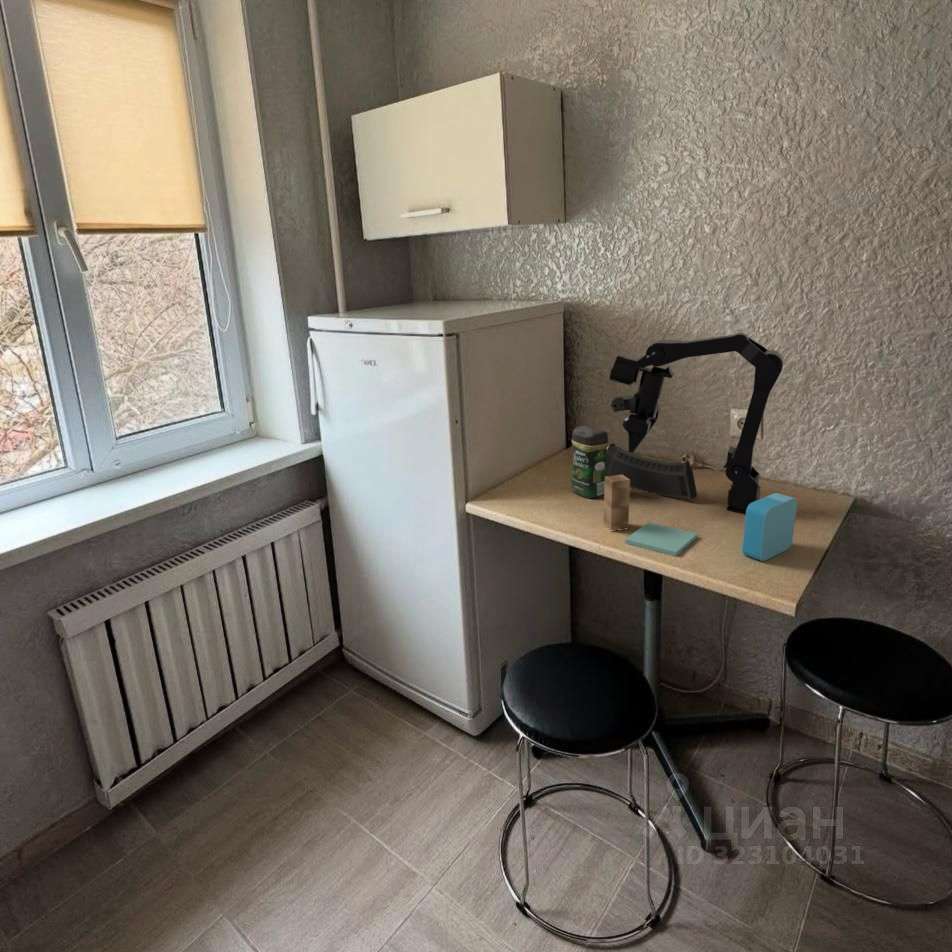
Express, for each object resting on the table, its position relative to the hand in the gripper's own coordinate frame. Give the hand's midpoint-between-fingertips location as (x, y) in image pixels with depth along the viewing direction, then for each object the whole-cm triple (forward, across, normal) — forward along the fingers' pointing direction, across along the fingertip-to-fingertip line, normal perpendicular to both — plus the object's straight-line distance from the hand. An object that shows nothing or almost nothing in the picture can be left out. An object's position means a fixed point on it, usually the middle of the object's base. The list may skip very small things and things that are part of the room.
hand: (634, 447), depth 172 cm
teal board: (+11, +26, +14) cm, 32 cm away
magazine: (+14, -7, +5) cm, 16 cm away
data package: (+7, +24, +36) cm, 44 cm away
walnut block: (+13, +22, +3) cm, 26 cm away
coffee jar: (+16, +1, -9) cm, 18 cm away
